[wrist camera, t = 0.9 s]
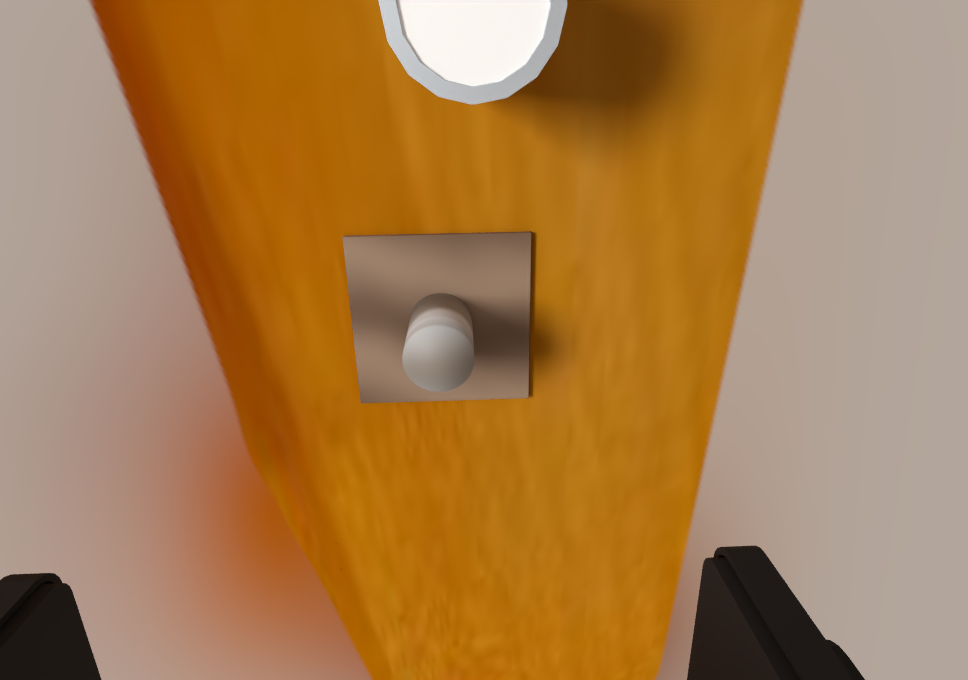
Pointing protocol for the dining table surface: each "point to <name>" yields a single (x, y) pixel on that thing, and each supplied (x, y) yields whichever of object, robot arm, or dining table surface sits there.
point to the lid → (440, 315)
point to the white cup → (473, 43)
